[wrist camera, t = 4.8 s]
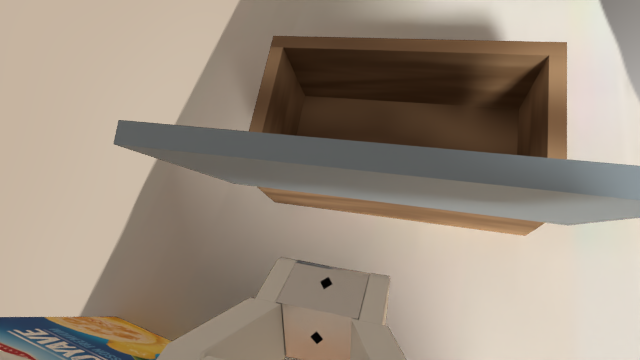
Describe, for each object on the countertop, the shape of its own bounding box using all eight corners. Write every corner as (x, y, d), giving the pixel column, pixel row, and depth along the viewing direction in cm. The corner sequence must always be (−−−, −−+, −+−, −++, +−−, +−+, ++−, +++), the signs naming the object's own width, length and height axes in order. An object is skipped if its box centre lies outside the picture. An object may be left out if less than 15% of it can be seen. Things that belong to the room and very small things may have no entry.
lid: (568, 207, 21) (567, 225, 21) (236, 169, 26) (234, 183, 26) (721, 173, 11) (721, 208, 11) (118, 120, 16) (113, 144, 16)
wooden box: (525, 235, 29) (566, 208, 22) (274, 202, 34) (238, 170, 27) (529, 105, 32) (566, 42, 25) (299, 91, 37) (273, 35, 30)
